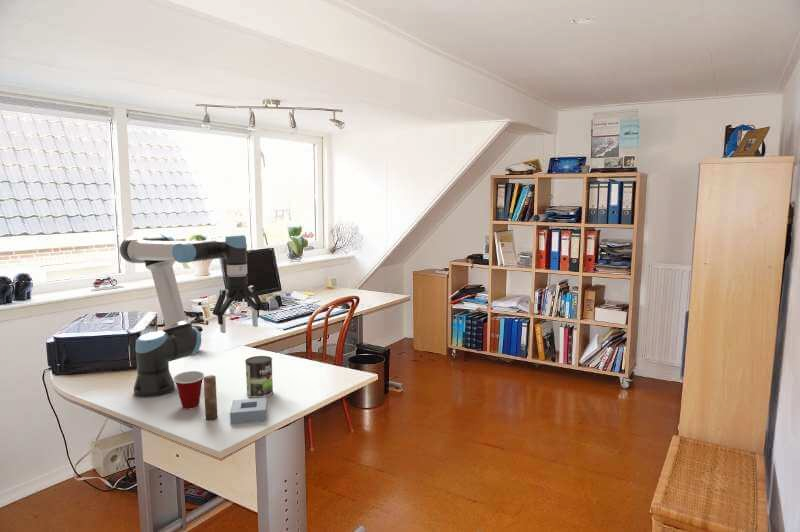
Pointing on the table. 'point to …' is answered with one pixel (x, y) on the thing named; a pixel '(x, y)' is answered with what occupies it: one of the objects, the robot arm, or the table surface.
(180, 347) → the robot arm
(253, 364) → the coffee can
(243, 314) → the table surface
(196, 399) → the plastic cup
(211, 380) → the peg
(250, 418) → the socket block
